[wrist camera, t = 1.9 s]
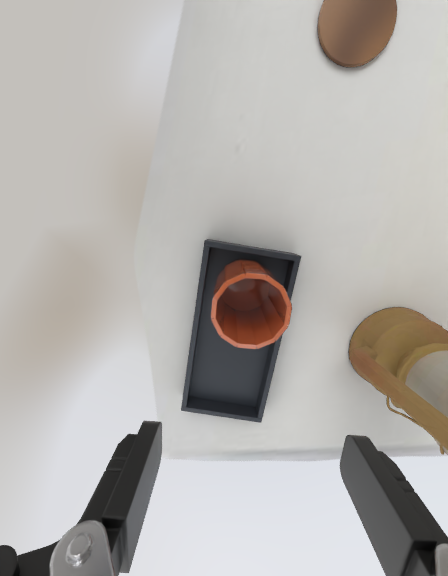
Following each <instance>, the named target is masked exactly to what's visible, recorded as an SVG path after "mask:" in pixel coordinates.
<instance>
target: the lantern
mask: <svg viewBox="0 0 448 576" xmlns="http://www.w3.org/2000/svg"><path fill="white" fill-rule="evenodd" d="M349 356H350V357H349V359H350V361H351V364H352V366H353V368H354V369H355V371H356V372H357V373H358V374H359V375H360V376H361V377H362V378H364V379H365V380H367V381H368V382H370V383H371V384H372V385H373V386H374V387H375V388H376V389H377V390H378V391H380V392H381V393H383V394H384V395H387V406H388V408H389V409H390V410H391V411H393V412H395V413H397V414H400V415H402V416H404V417H406V418H408V419H409V420H411V421H413V422H414V423H416V424H418V425H419V426H421V427H423V428H424V429H425V430H426V431H427V432H428V433H429V434H430V435H432V436H433V437H434V439H435V441H436V442H437V444H438V445H439V446H440V451H441V454H444V452H445V453H446V454H447V455H448V331H447V330H445V329H443V328H442V326H440V325H438V324H436V323H435V322H432V321H430V320H428V319H427V318H426V317H425V316H424V315H422V314H420V313H419V312H417V311H414V310H411V309H408V308H403V307H392V308H387V309H383V310H381V311H378V312H375V313H374V314H372V315H371V316H369V317H368V318H366V319H365V320H364V321H363V322H362V323H361V324H360V325H359V326H358V328H357V329H356V330H355V332H354V334H353V336H352V338H351V340H350V347H349ZM389 397H390V398H391V402H392V404H393V405H394V406H396V407H397V408H401V409H403V410H404V411H405V412H406V413H407V414H408V415H409V416H411V417H412V418H413V419H414V420H413V419H412V418H410V417H408V416H406V415H404V414H402V413H400V412H397V411H395V410H393V409H391V408H390V406H389Z"/></svg>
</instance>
